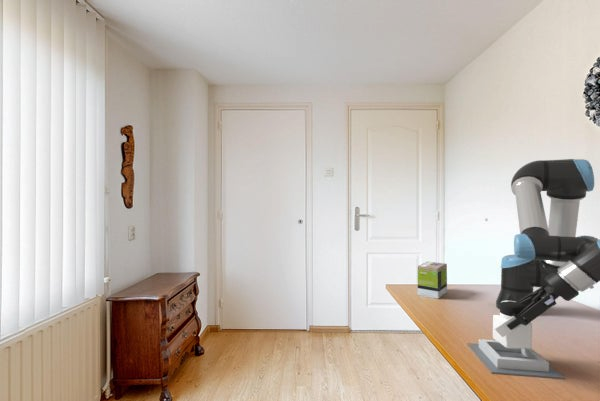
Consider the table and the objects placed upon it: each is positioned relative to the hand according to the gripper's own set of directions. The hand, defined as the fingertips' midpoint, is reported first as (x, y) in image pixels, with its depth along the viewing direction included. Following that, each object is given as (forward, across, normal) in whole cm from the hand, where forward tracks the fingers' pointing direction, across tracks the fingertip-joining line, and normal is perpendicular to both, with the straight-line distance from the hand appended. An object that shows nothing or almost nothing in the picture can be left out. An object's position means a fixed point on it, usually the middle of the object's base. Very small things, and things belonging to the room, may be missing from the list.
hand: (499, 327), depth 98 cm
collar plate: (+5, 0, -9) cm, 10 cm away
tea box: (+28, +59, +15) cm, 67 cm away
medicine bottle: (+1, 0, -5) cm, 5 cm away
